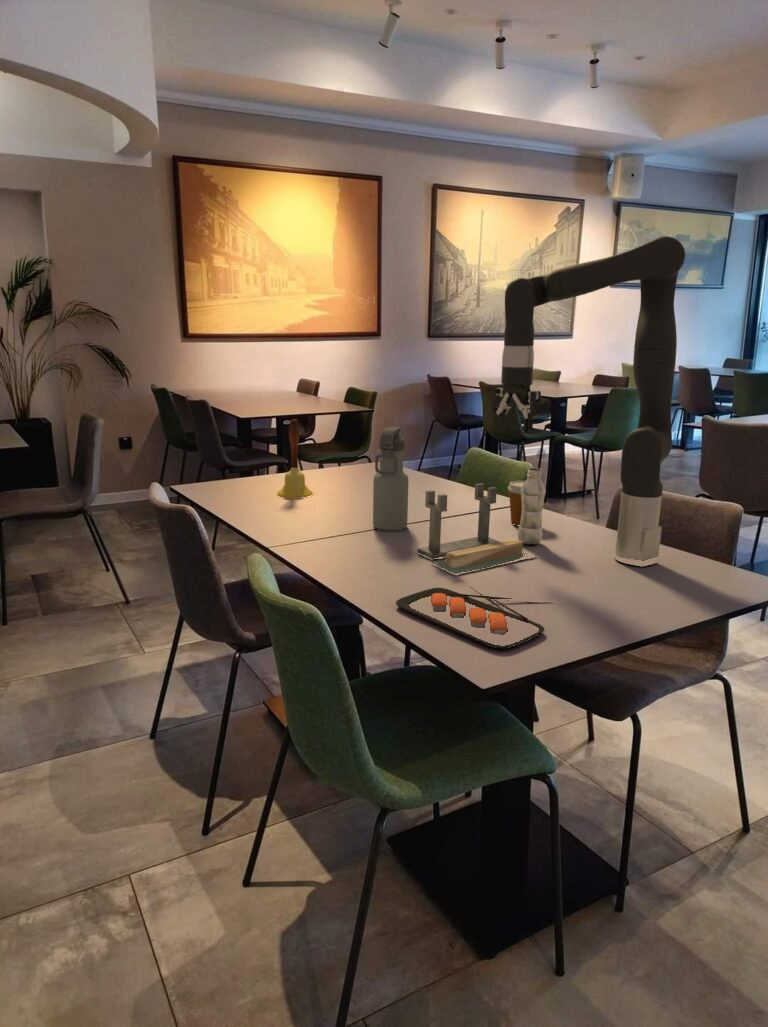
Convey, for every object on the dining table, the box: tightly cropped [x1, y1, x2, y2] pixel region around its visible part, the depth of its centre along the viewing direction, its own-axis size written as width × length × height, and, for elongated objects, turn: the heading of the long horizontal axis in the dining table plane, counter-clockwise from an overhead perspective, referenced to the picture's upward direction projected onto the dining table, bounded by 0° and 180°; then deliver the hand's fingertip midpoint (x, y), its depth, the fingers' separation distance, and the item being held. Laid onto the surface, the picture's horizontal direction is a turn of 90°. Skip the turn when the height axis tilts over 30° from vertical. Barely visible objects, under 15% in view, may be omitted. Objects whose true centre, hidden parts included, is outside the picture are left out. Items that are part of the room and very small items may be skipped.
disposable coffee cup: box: [507, 480, 526, 525], centre depth 208 cm, size 10×10×12 cm
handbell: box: [276, 418, 314, 499], centre depth 237 cm, size 12×12×25 cm
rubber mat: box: [431, 549, 528, 574], centre depth 176 cm, size 9×26×1 cm, turn 124°
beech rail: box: [445, 538, 524, 568], centre depth 175 cm, size 3×22×3 cm, turn 124°
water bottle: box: [372, 426, 409, 531], centre depth 200 cm, size 10×10×28 cm
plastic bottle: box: [517, 467, 547, 545], centre depth 188 cm, size 6×7×20 cm
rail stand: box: [416, 482, 500, 559], centre depth 182 cm, size 6×22×16 cm, turn 124°
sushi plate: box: [395, 587, 545, 649], centre depth 145 cm, size 29×30×4 cm
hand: (514, 431), depth 178 cm, fingers open, 8 cm apart
